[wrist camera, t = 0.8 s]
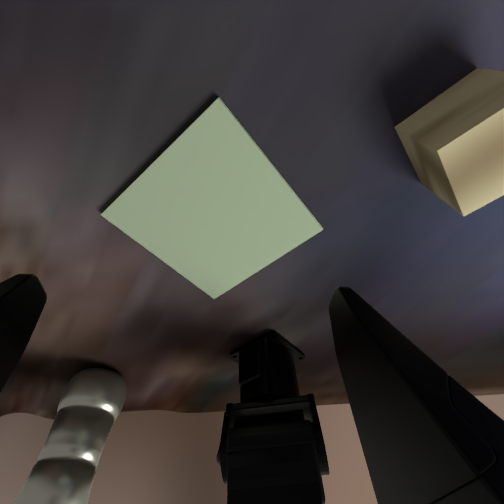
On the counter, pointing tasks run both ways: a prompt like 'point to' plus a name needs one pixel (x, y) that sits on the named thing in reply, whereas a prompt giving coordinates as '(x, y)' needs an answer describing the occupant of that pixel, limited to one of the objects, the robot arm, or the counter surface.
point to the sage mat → (213, 205)
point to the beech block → (460, 141)
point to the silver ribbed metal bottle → (75, 439)
